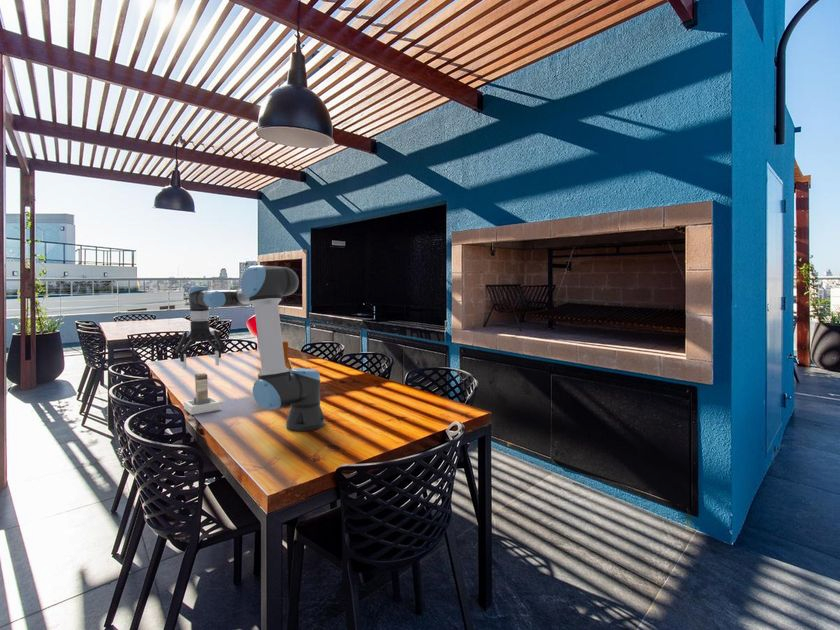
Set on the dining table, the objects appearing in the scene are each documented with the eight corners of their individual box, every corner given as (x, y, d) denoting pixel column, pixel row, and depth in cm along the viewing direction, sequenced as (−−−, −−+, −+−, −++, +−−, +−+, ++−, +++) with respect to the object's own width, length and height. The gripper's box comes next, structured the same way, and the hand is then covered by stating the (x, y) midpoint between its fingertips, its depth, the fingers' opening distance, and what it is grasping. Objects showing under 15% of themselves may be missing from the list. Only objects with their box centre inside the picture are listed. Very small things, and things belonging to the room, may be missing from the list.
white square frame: (220, 409, 194) (220, 398, 194) (191, 414, 186) (190, 403, 186) (211, 404, 203) (211, 393, 202) (184, 408, 195) (183, 398, 194)
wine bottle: (287, 406, 199) (286, 343, 197) (270, 404, 202) (269, 342, 200) (300, 401, 209) (299, 340, 207) (283, 399, 212) (282, 339, 210)
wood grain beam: (208, 405, 194) (207, 374, 193) (198, 406, 191) (197, 375, 190) (205, 403, 197) (204, 373, 196) (195, 404, 194) (195, 374, 193)
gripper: (225, 318, 203) (227, 362, 204) (166, 321, 186) (168, 369, 187) (231, 319, 197) (232, 364, 198) (170, 322, 180) (172, 371, 182)
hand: (201, 367), depth 193 cm, fingers open, 13 cm apart
